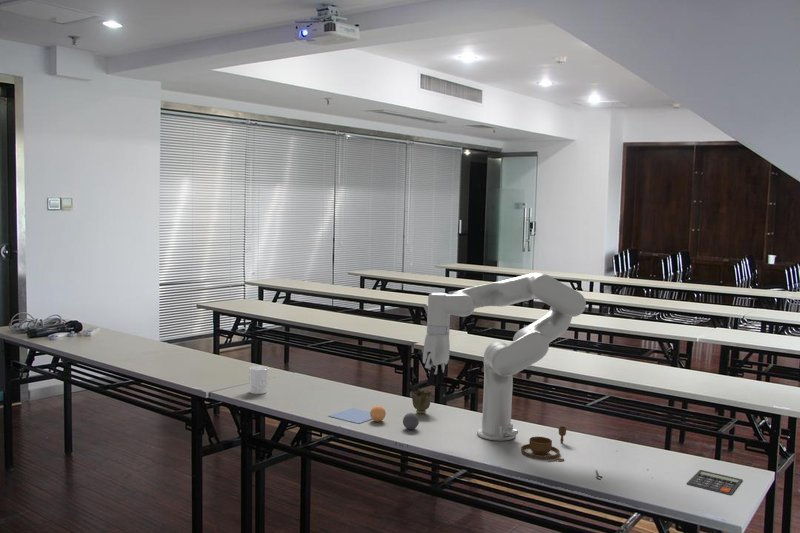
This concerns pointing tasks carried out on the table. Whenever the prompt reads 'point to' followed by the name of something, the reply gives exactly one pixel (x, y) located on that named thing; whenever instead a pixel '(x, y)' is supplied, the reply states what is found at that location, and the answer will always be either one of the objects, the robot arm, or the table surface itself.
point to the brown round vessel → (421, 401)
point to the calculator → (714, 482)
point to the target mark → (353, 415)
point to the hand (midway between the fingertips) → (435, 384)
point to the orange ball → (377, 413)
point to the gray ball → (410, 421)
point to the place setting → (544, 446)
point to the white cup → (258, 379)
